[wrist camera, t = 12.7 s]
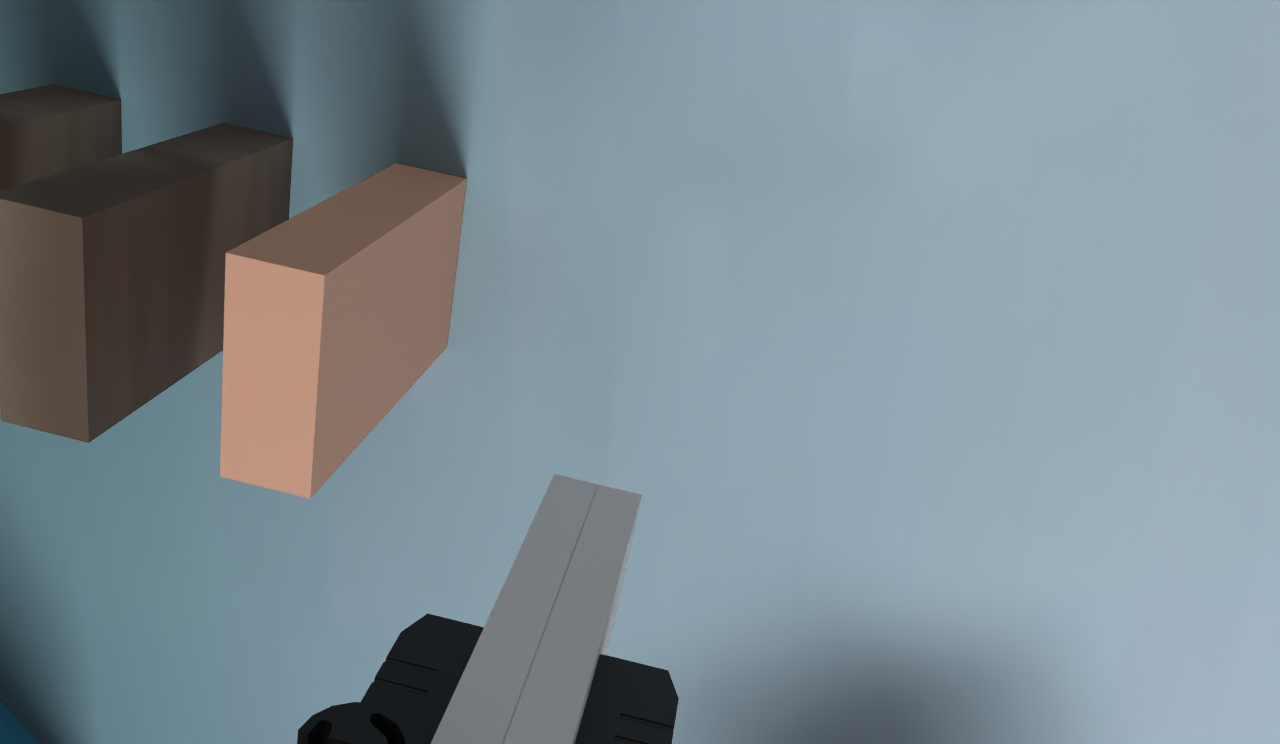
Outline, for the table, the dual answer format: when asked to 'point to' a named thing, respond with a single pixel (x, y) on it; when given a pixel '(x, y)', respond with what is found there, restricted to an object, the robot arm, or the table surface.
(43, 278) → the tile
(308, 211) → the tile
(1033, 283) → the table surface
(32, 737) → the camera mount
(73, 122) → the tile
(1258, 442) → the table surface
